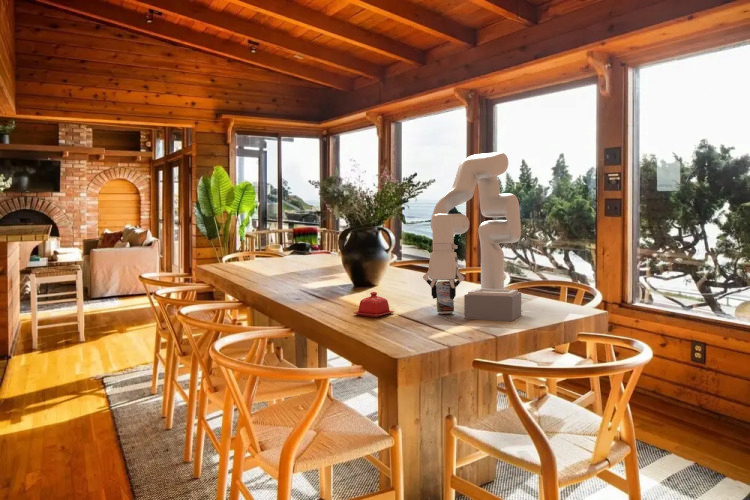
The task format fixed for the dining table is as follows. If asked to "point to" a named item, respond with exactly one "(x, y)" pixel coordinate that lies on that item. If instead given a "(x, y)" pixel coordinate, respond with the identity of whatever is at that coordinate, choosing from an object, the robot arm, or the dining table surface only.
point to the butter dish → (373, 306)
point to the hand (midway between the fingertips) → (443, 298)
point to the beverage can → (444, 297)
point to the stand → (492, 304)
